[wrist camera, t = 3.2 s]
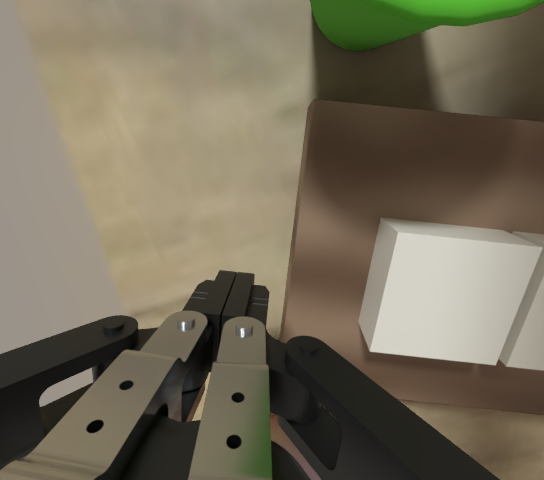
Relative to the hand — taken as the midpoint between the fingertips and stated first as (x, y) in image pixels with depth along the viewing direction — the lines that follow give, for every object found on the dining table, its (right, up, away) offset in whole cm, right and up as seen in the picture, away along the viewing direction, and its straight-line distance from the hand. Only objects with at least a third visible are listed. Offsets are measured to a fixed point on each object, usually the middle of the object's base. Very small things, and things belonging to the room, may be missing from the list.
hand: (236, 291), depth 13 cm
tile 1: (+10, 0, +3) cm, 10 cm away
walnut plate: (+13, +1, +7) cm, 14 cm away
